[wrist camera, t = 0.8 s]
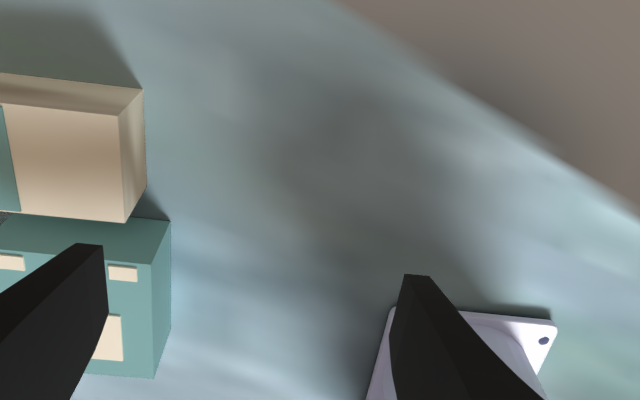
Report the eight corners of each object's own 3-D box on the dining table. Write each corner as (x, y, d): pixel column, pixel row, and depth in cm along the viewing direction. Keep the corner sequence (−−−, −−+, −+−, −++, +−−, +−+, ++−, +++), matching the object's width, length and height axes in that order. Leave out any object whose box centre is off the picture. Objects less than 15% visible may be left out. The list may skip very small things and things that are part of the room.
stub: (148, 183, 21) (124, 224, 18) (19, 170, 20) (-25, 210, 18) (144, 87, 19) (117, 117, 16) (2, 70, 18) (-51, 98, 16)
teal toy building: (170, 328, 24) (153, 380, 21) (39, 316, 24) (4, 368, 21) (170, 221, 21) (150, 266, 18) (20, 205, 21) (-23, 248, 18)
